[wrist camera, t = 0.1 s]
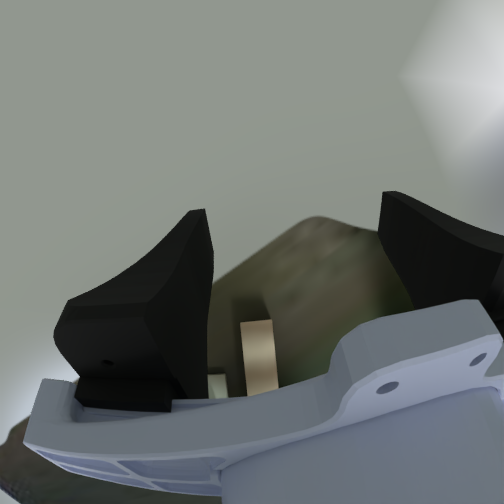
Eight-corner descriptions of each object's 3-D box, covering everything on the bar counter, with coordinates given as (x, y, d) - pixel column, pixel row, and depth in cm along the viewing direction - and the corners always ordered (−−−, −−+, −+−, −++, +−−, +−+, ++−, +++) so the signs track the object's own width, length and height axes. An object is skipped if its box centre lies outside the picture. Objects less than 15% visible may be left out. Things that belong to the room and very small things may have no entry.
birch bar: (280, 414, 40) (281, 423, 36) (252, 417, 40) (250, 426, 36) (271, 319, 43) (271, 319, 39) (242, 322, 43) (240, 322, 39)
